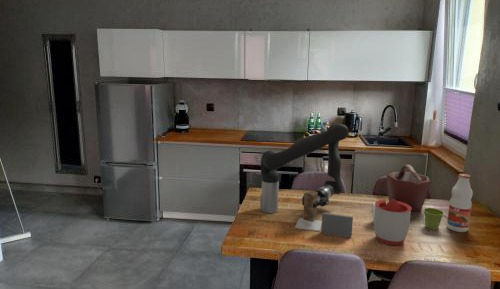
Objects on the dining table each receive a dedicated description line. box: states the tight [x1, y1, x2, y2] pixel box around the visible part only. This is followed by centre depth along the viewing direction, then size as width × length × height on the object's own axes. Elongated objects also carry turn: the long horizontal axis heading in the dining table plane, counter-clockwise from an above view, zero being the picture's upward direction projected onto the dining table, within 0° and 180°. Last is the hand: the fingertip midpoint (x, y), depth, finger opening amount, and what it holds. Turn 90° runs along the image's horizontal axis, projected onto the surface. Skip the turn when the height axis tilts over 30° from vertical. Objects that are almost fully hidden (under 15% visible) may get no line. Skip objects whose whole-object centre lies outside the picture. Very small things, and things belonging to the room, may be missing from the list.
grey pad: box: [294, 217, 322, 233], centre depth 186 cm, size 12×12×1 cm
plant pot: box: [423, 207, 445, 231], centre depth 185 cm, size 9×9×9 cm
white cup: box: [372, 201, 388, 224], centre depth 190 cm, size 8×8×10 cm
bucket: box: [386, 164, 431, 214], centre depth 210 cm, size 24×22×25 cm
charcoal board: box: [320, 212, 354, 239], centre depth 174 cm, size 14×2×10 cm, turn 72°
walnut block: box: [302, 190, 318, 222], centre depth 184 cm, size 5×5×14 cm
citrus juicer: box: [373, 199, 412, 246], centre depth 170 cm, size 16×17×20 cm
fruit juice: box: [446, 173, 474, 233], centre depth 182 cm, size 9×9×28 cm
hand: (308, 204), depth 181 cm, fingers closed on walnut block, 5 cm apart
